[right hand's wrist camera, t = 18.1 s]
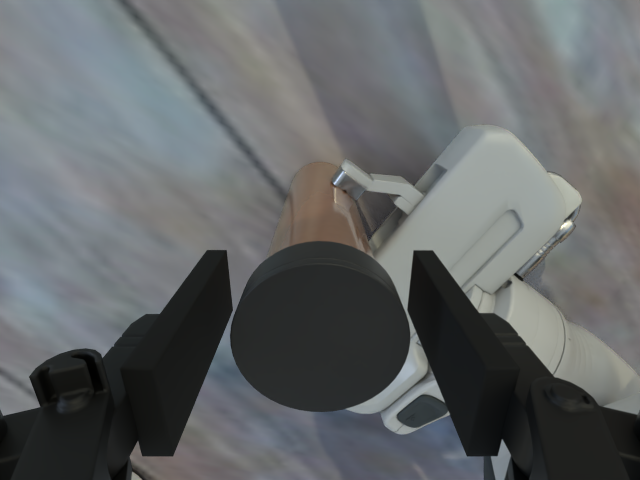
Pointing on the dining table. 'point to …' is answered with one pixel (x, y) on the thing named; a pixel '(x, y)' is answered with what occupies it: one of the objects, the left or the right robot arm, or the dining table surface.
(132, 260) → the dining table surface
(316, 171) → the bottle
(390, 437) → the dining table surface
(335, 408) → the lid
